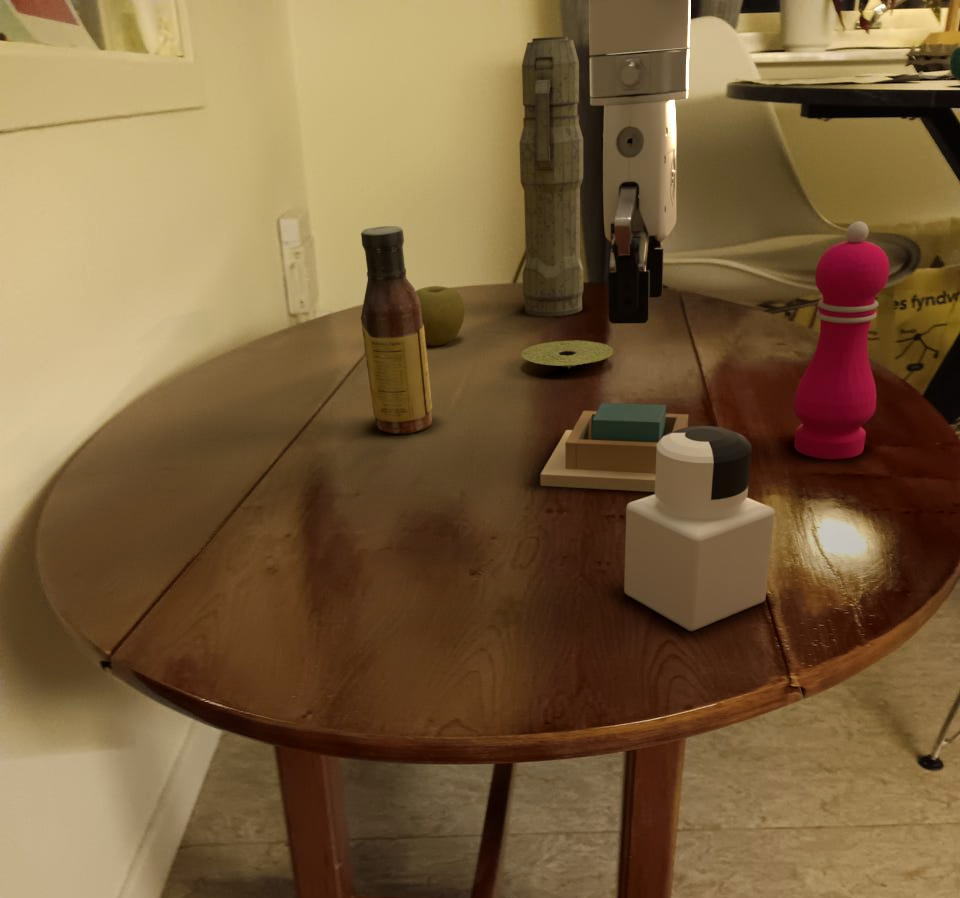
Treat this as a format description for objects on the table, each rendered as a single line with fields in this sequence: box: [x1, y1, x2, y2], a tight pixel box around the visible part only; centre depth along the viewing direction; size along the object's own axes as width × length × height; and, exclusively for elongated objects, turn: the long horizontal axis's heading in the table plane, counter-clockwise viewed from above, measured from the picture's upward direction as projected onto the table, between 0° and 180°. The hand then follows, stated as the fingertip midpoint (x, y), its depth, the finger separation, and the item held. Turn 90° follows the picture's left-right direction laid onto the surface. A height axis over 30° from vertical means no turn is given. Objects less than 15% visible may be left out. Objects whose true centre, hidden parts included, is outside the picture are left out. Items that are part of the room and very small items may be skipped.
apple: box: [415, 285, 465, 347], centre depth 133 cm, size 8×8×7 cm
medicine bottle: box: [623, 425, 776, 632], centre depth 67 cm, size 7×7×12 cm
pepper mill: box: [792, 220, 890, 460], centre depth 88 cm, size 7×7×20 cm
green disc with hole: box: [520, 339, 615, 370], centre depth 121 cm, size 11×11×2 cm
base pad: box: [539, 410, 689, 493], centre depth 91 cm, size 14×12×4 cm
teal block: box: [592, 402, 667, 443], centre depth 91 cm, size 6×5×4 cm
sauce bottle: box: [360, 225, 433, 435], centre depth 100 cm, size 6×6×20 cm
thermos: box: [518, 36, 584, 317], centre depth 139 cm, size 9×12×35 cm
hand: (636, 309), depth 85 cm, fingers open, 9 cm apart
